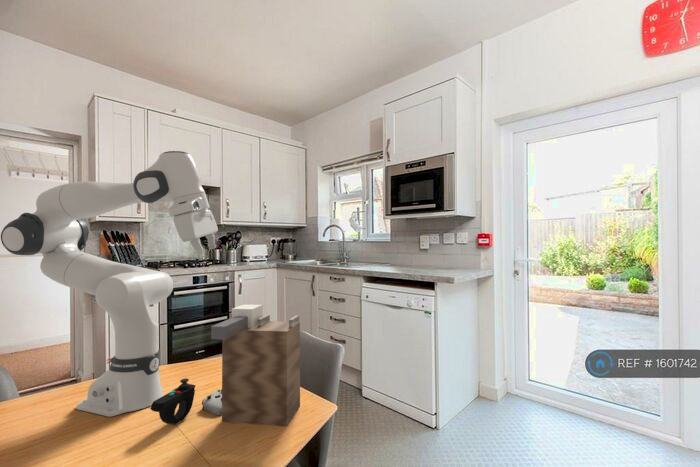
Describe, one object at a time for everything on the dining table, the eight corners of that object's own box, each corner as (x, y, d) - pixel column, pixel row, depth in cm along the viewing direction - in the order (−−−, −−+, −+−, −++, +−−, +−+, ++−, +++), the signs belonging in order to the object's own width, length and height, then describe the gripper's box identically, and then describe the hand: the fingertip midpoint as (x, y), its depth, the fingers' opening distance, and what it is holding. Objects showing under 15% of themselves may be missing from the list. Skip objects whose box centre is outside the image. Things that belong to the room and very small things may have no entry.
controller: (197, 413, 92) (198, 376, 92) (161, 437, 80) (162, 395, 80) (185, 411, 93) (185, 375, 93) (147, 435, 81) (148, 393, 81)
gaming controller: (222, 413, 90) (206, 393, 91) (208, 428, 90) (192, 408, 92) (244, 395, 101) (229, 377, 102) (230, 408, 101) (216, 391, 103)
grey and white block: (206, 338, 79) (206, 317, 79) (243, 321, 98) (243, 304, 98) (229, 339, 78) (229, 318, 78) (262, 321, 97) (262, 304, 97)
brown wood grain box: (221, 421, 87) (222, 322, 88) (241, 402, 98) (242, 313, 99) (287, 426, 84) (286, 323, 86) (300, 405, 95) (299, 315, 96)
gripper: (195, 207, 106) (209, 248, 108) (165, 210, 86) (182, 261, 87) (214, 202, 106) (228, 243, 108) (188, 204, 86) (205, 254, 88)
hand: (207, 251), depth 97 cm, fingers open, 8 cm apart
